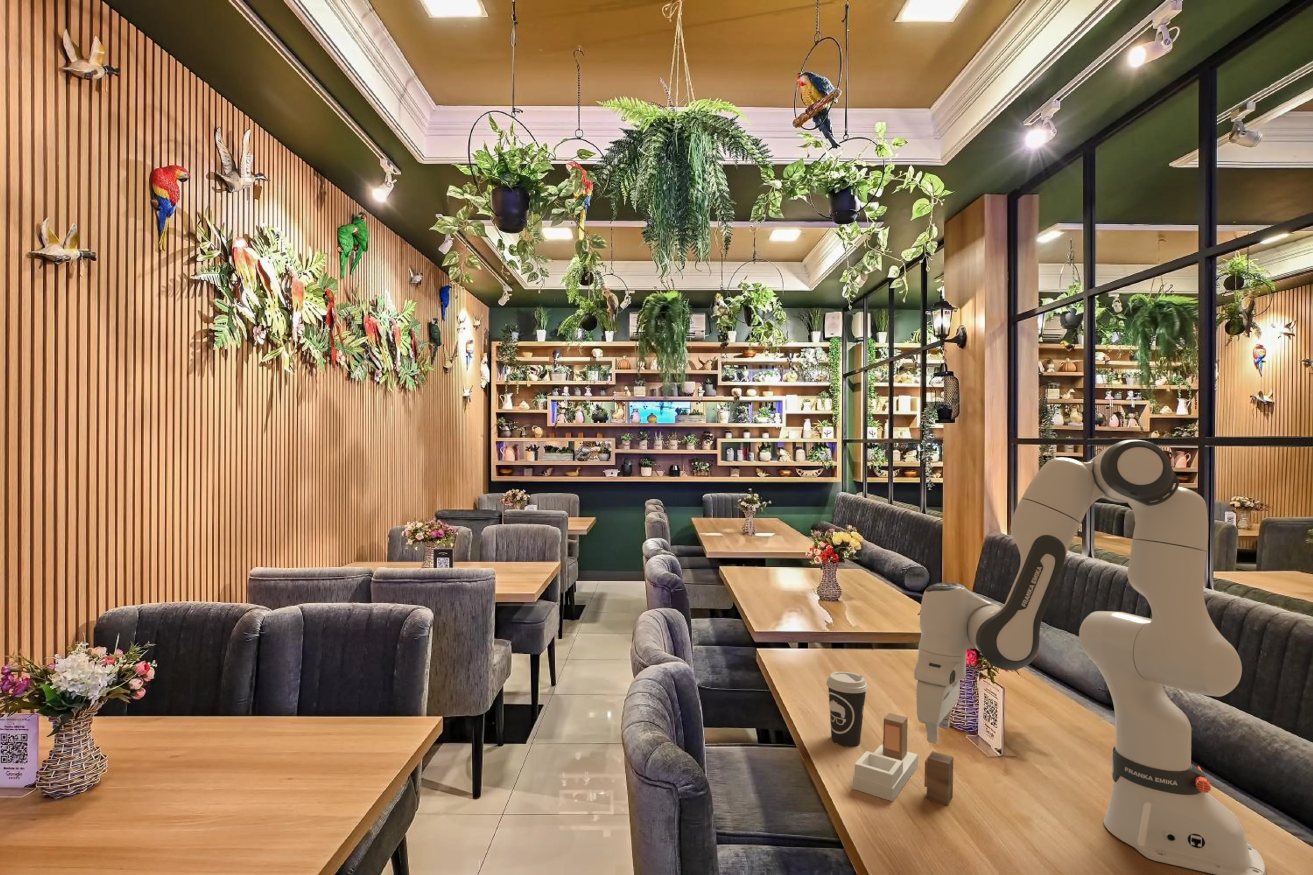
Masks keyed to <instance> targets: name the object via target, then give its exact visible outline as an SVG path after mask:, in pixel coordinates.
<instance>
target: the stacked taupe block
mask: <svg viewBox="0 0 1313 875" xmlns="http://www.w3.org/2000/svg"><path fill="white" fill-rule="evenodd" d="M923 779H924V782H923V784H924V785H923V786H924V788H926V799H927V800H929V801H931V802H932V801H933V802H936V803H939V804H943V805H946V806H949V805H950V803H951V801H952V799H953V798H954V797H953V796H954V795H953V794H954V791H953V790H954V756H953V755H949V754H945V753H941V752H937V751H934V750H932V751H931V752H930V753H929V755H928V756H927V757H926V759H925V761H924V778H923Z"/></svg>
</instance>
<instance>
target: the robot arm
mask: <svg viewBox="0 0 1313 875" xmlns="http://www.w3.org/2000/svg"><path fill="white" fill-rule="evenodd" d="M1179 485H1180V480H1179V478H1178V476H1177V475H1176V473H1175V471H1174V468H1173V466H1172V463H1171V461H1170V459H1169V457H1168V456H1167V454H1166V452H1164V450H1162V448H1160V446H1158V445H1156V444H1154V443H1153V442H1150V441H1146V440H1141V439H1126V440H1122V441H1119V442H1116V443H1114V444H1112V445H1110V446H1108V447H1106V448H1104V449H1103V450H1101V451H1100V452H1099V453H1098V454H1097V455H1095V456H1094V457H1092V458H1091V459H1089V460H1088V461H1086V462H1084V461H1080V460H1077V459H1074V458H1071V457H1070V458H1069V457H1054V458H1051V459H1048V461H1046V462H1045V464H1044V465H1042V467H1041V468H1040V469H1039V470H1038V471H1037V473H1036V474H1035V475H1034V477H1033V478H1032V480H1031V481H1030V483H1029V484H1028V486H1027V487H1026V489H1025V491H1024V493H1023V495H1022V496H1021V499H1020V501H1019V502H1018V504H1017V505H1016V508H1015V510H1014V513H1013V517H1012V520H1011V522H1010V528H1009V529H1010V533H1011V536H1012V539H1013V540H1014V543H1015V544H1016V546H1017V548H1018V552H1019V556H1020V563H1019V564H1020V565H1019V569H1018V573H1017V575H1016V577H1015V579H1014V582H1013V584H1012V586H1011V589H1010V591H1009V593H1008V595H1007V598H1006V601H1005V602H1004V604H1003V606H1001V605H998V604H996V603H995V602H992V601H989V600H987V599H984V598H982V597H980V596H979V595H977V594H976V593H974V592H972V591H970V590H969V589H967V588H966V586H964V585H963V584H960V583H957V582H937V583H934V584H930V585H929V586H928V587H926V588H925V590H924V592H923V594H922V598H921V604H920V614H919V628H920V634H921V635H920V640H919V642H918V652H917V653H918V654H917V663H916V665H915V668H914V671H913V678H914V680H916V681H917V682H916V689H915V690H916V693H915V694H916V696H915V697H916V714H917V715H916V716H917V720H918V721H919V723H922V724H925V728H926V733H927V734H926V740H927V742H928V743H929V744H933V745H934V744H935V745H936V744H937V742H938V741H939V738H940V737H939V729H944V730H947V729H949V727H950V722H951V721H950V719H951V715H952V711H953V707H954V706H955V705H956V704H957V702H958V701H959V698H960V692H961V690H960V688H961V686H960V685H961V684H960V682H961V680H964V679H965V678H966V672H967V670H966V668H967V651H968V650H969V649H974V650H975V649H976V650H977V651H978V652H979V653H980V654H981V655H982V656H983V658H984V659H985V660H986V662H988V663H989V664H990V665H992V666H993V667H996V668H997V669H1000V670H1004V671H1017V670H1020V669H1023V668H1025V667H1027V666H1028V665H1030V664H1031V663H1032V662H1033V661H1034V659H1035V658H1036V657H1037V655H1038V652H1039V647H1040V632H1041V631H1040V629H1041V626H1042V621H1043V617H1044V615H1045V613H1046V611H1047V608H1048V606H1049V603H1050V601H1051V599H1052V596H1053V593H1054V591H1055V588H1056V586H1057V583H1058V581H1059V579H1060V576H1061V573H1062V570H1063V567H1064V564H1065V560H1066V557H1067V554H1068V550H1069V549H1070V546H1071V544H1072V542H1073V539H1074V538H1075V536H1076V533H1077V532H1078V529H1079V528H1080V525H1081V524H1082V522H1083V520H1084V518H1085V515H1086V513H1087V512H1088V509H1090V508H1091V506H1092V505H1093V504H1094V502H1097V501H1098V502H1102V503H1103V502H1105V503H1110V504H1126V503H1127V504H1128V505H1129V507H1130V508H1131V509H1132V512H1133V515H1134V523H1135V524H1134V529H1133V533H1132V534H1133V535H1132V540H1131V546H1130V554H1129V559H1128V560H1129V561H1128V568H1127V575H1126V576H1127V580H1128V583H1129V584H1130V586H1131V587H1132V589H1134V591H1136V592H1137V593H1139V594H1140V595H1141V596H1143V597H1144V598H1145V599H1146V600H1147V602H1148V604H1149V607H1150V610H1151V618H1149V617H1144V616H1141V615H1137V614H1132V613H1127V612H1124V611H1112V610H1111V611H1110V610H1109V611H1106V610H1101V611H1100V610H1098V611H1097V610H1096V611H1093V612H1091V613H1089V614H1088V615H1087V616H1086V617H1085V618H1084V619H1083V621H1082V623H1081V625H1080V627H1079V631H1078V638H1079V643H1080V645H1081V646H1080V647H1081V648H1082V651H1083V652H1084V654H1085V655H1086V656H1087V657H1088V658H1089V659H1090V660H1091V661H1092V662H1093V663H1094V664H1095V666H1096V667H1097V669H1098V670H1099V672H1100V674H1101V675H1102V678H1103V679H1104V682H1105V684H1106V686H1107V688H1108V690H1109V691H1108V692H1109V693H1110V696H1111V700H1112V703H1113V708H1114V720H1115V721H1114V722H1115V726H1114V727H1115V745H1114V747H1113V748H1112V753H1111V775H1112V776H1111V778H1112V780H1113V783H1112V789H1111V795H1110V800H1109V804H1108V807H1107V810H1106V813H1105V815H1104V818H1103V825H1104V826H1105V828H1106V829H1107V831H1109V833H1111V834H1112V835H1113V836H1114V837H1116V838H1117V839H1119V840H1121V841H1122V842H1124V843H1125V844H1127V845H1129V846H1131V847H1133V848H1134V849H1136V851H1138V852H1139V853H1140V854H1141V855H1143V857H1145V858H1147V859H1149V860H1152V861H1155V862H1159V863H1164V864H1168V865H1172V866H1177V867H1181V868H1186V869H1190V870H1194V871H1199V872H1203V873H1208V874H1211V875H1212V874H1213V875H1267V874H1266V873H1267V872H1266V871H1267V870H1266V865H1265V861H1264V860H1263V857H1262V855H1261V854H1260V852H1259V851H1258V850H1257V849H1256V848H1255V847H1253V846H1252V844H1250V843H1248V840H1247V836H1246V833H1245V830H1244V828H1243V825H1242V824H1241V822H1240V820H1239V819H1238V817H1237V816H1236V815H1235V814H1234V813H1233V812H1232V811H1231V810H1230V809H1228V808H1227V807H1226V806H1225V805H1224V804H1222V802H1220V801H1219V800H1218V799H1216V798H1215V797H1214V796H1213V795H1212V794H1210V793H1209V792H1211V789H1212V787H1211V782H1210V781H1209V779H1207V778H1206V774H1205V772H1203V771H1202V769H1201V767H1200V766H1199V765H1198V766H1197V767H1196V766H1195V764H1192V726H1191V722H1190V720H1189V719H1188V716H1187V714H1185V713H1184V712H1183V710H1181V709H1180V708H1179V707H1178V706H1177V705H1176V704H1175V703H1174V702H1173V701H1172V700H1171V699H1170V697H1169V696H1168V695H1167V693H1166V692H1165V690H1164V688H1163V686H1165V687H1169V688H1172V689H1175V690H1179V691H1181V692H1184V693H1189V694H1194V695H1199V696H1200V695H1201V696H1209V697H1210V696H1211V697H1219V698H1220V697H1223V696H1225V695H1227V694H1230V693H1231V692H1232V691H1233V690H1234V689H1235V688H1236V687H1238V685H1239V683H1240V681H1241V677H1242V672H1243V666H1242V660H1241V658H1240V655H1239V654H1238V652H1237V650H1236V649H1235V647H1234V646H1233V645H1232V644H1231V643H1230V642H1229V641H1228V639H1226V638H1225V637H1224V636H1223V635H1222V633H1220V631H1219V630H1218V629H1217V627H1216V626H1215V624H1214V622H1213V620H1212V618H1211V617H1210V614H1209V612H1208V609H1207V608H1208V607H1207V606H1206V601H1205V593H1204V592H1205V591H1204V589H1205V588H1204V587H1205V584H1204V583H1205V570H1206V560H1207V555H1208V554H1207V553H1208V544H1209V543H1208V542H1209V520H1208V519H1209V516H1208V508H1207V504H1206V501H1205V498H1204V497H1202V496H1201V495H1200V494H1198V493H1197V492H1196V491H1194V490H1192V489H1189V488H1186V487H1184V486H1183V487H1181V486H1179Z"/></svg>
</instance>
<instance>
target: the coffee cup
mask: <svg viewBox="0 0 1313 875" xmlns="http://www.w3.org/2000/svg"><path fill="white" fill-rule="evenodd" d="M825 684H826V687H828V689H827V690H828V703H829V716H830V717H829V719H830V737H831V741H832V743H834V744H836V745H839V746H842V747H846V746H851V747H850V748H854V746H855V747H858V746H859V745H860V744H861V737H862V729H863V719H864V709H865V701H866V693H867V691H868V690H869V687H868V683H867V681H866V680H865V677H863V675H860V674H858V673H855V672H850V671H833V672H831V673H830V675H829V677H828V678H827V680H826V682H825ZM852 746H853V747H852Z"/></svg>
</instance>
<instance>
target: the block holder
mask: <svg viewBox="0 0 1313 875" xmlns="http://www.w3.org/2000/svg"><path fill="white" fill-rule="evenodd" d="M908 718H909V717H907V716H904V715H899V714H895V713H891V712H888V713H887V715H886V716H884V717H883V727H882V728H883V729H882V731H883V732H882V744H880V745H879V746H878V747H877V748H876V749H875V751H874V752H872V751H869V750H866V751H865V752H864V753H863V754H862V755H861V756H860V758H858V760H857V761H856V762H855V763H854V774H853V776H852V790H856V791H857V792H858V791H859V792H861V793H863V794H864V793H865V794H868V795H870V796H874V797H876V798H881V799H883V800H887V801H890V802H894V800H895V799H896V798H897V797H898V795H899V793H900V792H901V791H902V790H903V788H904V787H903V786H905V785H906V784H907V782H908V781H909V780H910V778H911V777H910V776H913V774H914V772H915V771H916V769H917V768H918V766H919V754H917V753H915V752H911V751H908V724H909V723H908V720H909V719H908ZM912 773H913V774H912ZM907 780H908V781H907ZM905 783H906V784H905ZM902 787H903V788H902ZM900 790H901V791H900Z"/></svg>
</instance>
